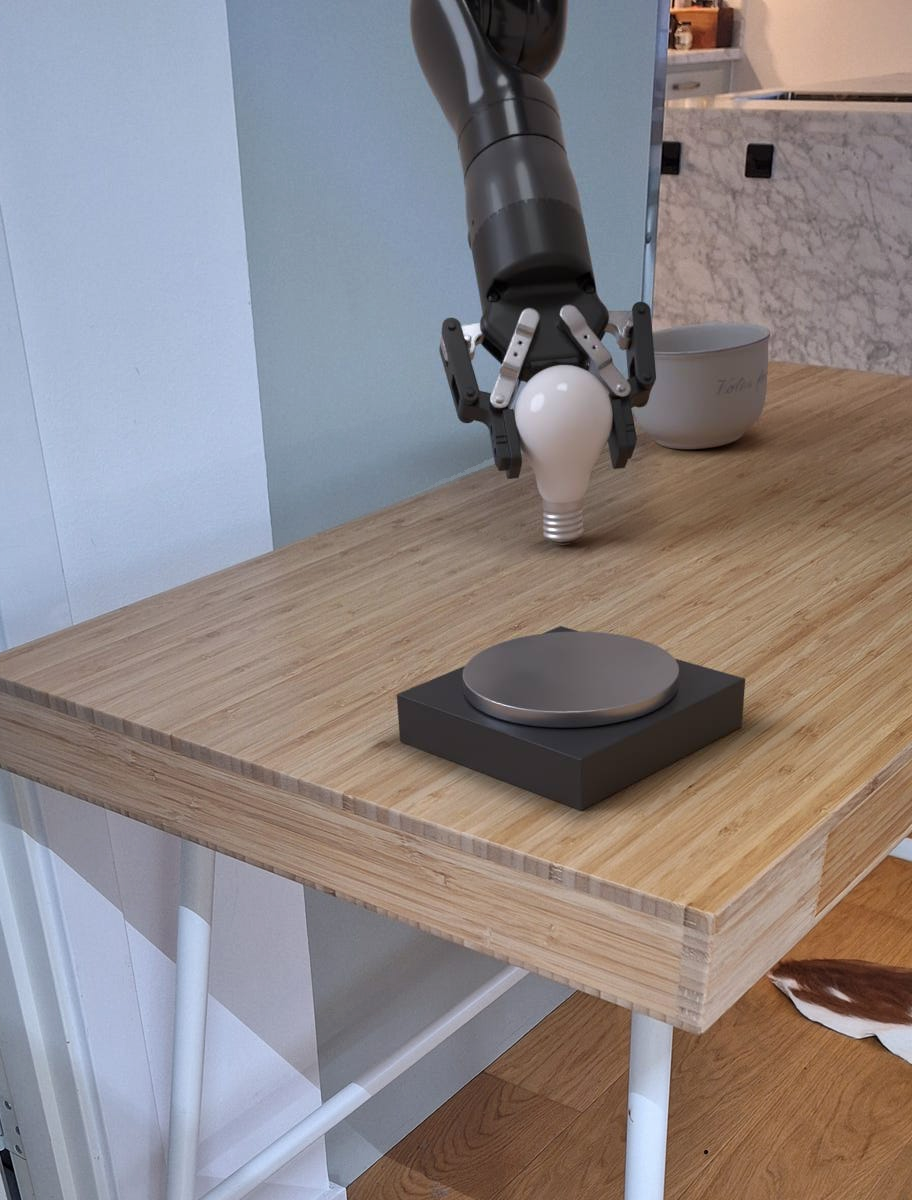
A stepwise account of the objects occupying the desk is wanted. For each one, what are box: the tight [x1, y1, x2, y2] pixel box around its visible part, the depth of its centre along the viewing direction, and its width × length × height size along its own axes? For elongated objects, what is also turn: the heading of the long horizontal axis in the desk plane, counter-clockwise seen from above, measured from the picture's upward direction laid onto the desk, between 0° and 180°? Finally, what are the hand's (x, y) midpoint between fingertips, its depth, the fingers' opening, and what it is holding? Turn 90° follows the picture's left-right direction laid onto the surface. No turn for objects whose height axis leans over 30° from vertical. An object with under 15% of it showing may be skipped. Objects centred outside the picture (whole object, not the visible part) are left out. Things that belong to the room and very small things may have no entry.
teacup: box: [633, 320, 771, 450], centre depth 117 cm, size 14×11×8 cm
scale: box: [396, 625, 746, 811], centre depth 72 cm, size 12×12×2 cm
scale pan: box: [463, 631, 679, 728], centre depth 71 cm, size 10×10×1 cm
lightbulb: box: [513, 365, 613, 546], centre depth 95 cm, size 6×6×11 cm
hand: (568, 466), depth 94 cm, fingers closed on lightbulb, 6 cm apart
